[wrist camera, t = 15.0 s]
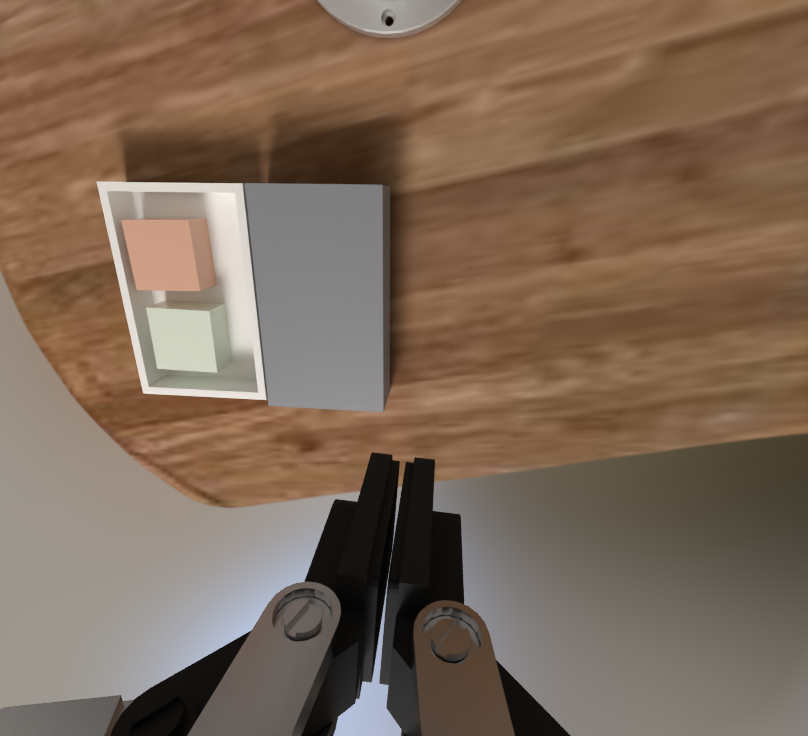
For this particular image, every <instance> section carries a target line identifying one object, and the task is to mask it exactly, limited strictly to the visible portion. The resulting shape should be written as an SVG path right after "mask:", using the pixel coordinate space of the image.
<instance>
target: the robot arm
mask: <svg viewBox="0 0 808 736" xmlns="http://www.w3.org/2000/svg"><path fill="white" fill-rule="evenodd" d="M317 1H318V2H319V3H320V5H321V6H322V7H323V8H324V9H325V10H326V11H327V12H328V13H329V14H330V15H331V16H333V17H334V18H335V19H336V20H337V21H339V22H340V23H341V24H343V25H345V26H347V27H349V28H351V29H352V30H354V31H356V32H358V33H362V34H365V35H369V36H372V37H377V38H399V37H404V36H409V35H414V34H416V33H418V32H421V31H423V30H425V29H428V28H430V27H432V26H433V25H435V24H436V23H438V22H439V21H440V20H442V19H443V18H445V17H446V16H448V15H449V14H450V13H451V12H452V11H453V10H454V9H455V8H456V7H457V6H458V5H459V3H460V2H461V1H462V0H317ZM388 19H393V21H394V22H393V24H392V26H387V25H386V21H387V20H388ZM399 464H400V461H393V460H392V455H389V454H381V453H372V454H371V457H370V460H369V464H368V467H367V471H366V474H365V478H364V481H363V485H362V488H361V491H360V495H359V498H358V502H354V501H346V500H337V499H336V500H335V501H334V503H333V505H332V508H331V510H330V513H329V516H328V519H327V521H326V524H325V527H324V530H323V532H322V535H321V538H320V541H319V543H318V547H317V549H316V552H315V555H314V557H313V560H312V563H311V566H310V568H309V571H308V574H307V576H306V579H305V582H302V583H296V584H293V585H291V586H288V587H286V588H284V589H283V590H281V591H280V592H279V593H277V594H276V595H275V596H274V597H273V598H272V600H271V601H270V602H269V603H268V605H267V607H266V608H265V610H264V611H263V613H262V615H261V616H260V618H259V620H258V622H257V623H256V625H255V626H254V628H253V629H252V631H250V632H248V633H246V634H245V635H243V636H241V637H240V638H238V639H236V640H234V641H232V642H231V643H229V644H227V645H225V646H224V647H222V648H220V649H218V650H217V651H215V652H213V653H212V654H209V655H208V656H206V657H204V658H202V659H201V660H199V661H197V662H196V663H194V664H192V665H190V666H188V667H187V668H185V669H183V670H181V671H180V672H178V673H176V674H174V675H173V676H171V677H169V678H167V679H166V680H164V681H162V682H160V683H159V684H157V685H155V686H153V687H151V688H150V689H148V690H147V691H146V692H144V693H143V694H141V695H140V696H138V697H137V698H136V699H135V700H130V701H122V697H121V695H118V696H108V697H99V698H90V699H79V700H70V701H60V702H52V703H42V704H33V705H22V706H13V707H6V708H2V709H0V736H333V735H334V732H335V729H336V724H337V720H338V716H339V715H341V714H342V713H343V712H345V711H346V710H347V709H348V708H350V707H351V706H352V705H353V704H355V700H356V698H357V699H358V698H359V697H360V691H361V685H362V681H366V682H372V677H373V671H374V664H375V658H376V651H377V645H378V638H379V632H380V625H381V618H382V612H383V606H384V599H385V593H386V586H387V580H388V588H387V598H386V611H385V622H384V635H383V648H382V660H381V671H380V684H387V685H389V689H388V699H387V709H388V710H389V712H390V713H391V715H392V716H393V718H394V719H395V721H396V722H397V723H398V725H399V726H400V728H401V729H402V732H401V736H570V735H569V734H568V733H567V732H566V731H565V730H564V729H563V728H562V727H561V726H560V725H559V724H558V722H557V721H556V720H555V719H554V718H553V717H552V716H551V715H550V714H549V713H548V712H547V711H546V710H545V709H544V708H543V707H542V706H541V705H540V704H539V703H538V702H537V701H536V700H535V699H534V698H533V697H532V696H531V695H530V694H529V693H528V692H527V691H526V690H525V689H524V688H523V687H522V686H521V685H520V684H519V683H518V682H517V681H516V680H515V679H514V678H513V677H512V676H511V675H510V674H509V673H508V672H507V671H506V670H505V668H503V666H501V664H500V663H499V662H498V661H497V660H496V658H495V654H494V650H493V646H492V642H491V638H490V634H489V631H488V629H487V627H486V624H485V622H484V621H483V620H482V618H481V617H480V616H479V615H478V613H476V612H475V611H474V610H472V609H471V608H470V607H468V606H466V605H464V588H463V563H462V538H461V517H460V515H459V514H452V513H444V512H435V511H433V492H434V491H433V490H434V470H435V460H433V459H424V458H415V459H414V463H410V462H406V465H405V472H404V478H403V485H402V491H401V498H400V504H399V512H398V518H397V524H396V531H395V538H394V544H393V535H394V523H395V511H396V499H397V488H398V476H399ZM392 545H393V550H392ZM391 553H392V558H391ZM390 560H391V564H390ZM389 567H390V570H389ZM388 573H389V578H388Z"/></svg>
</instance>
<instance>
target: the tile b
mask: <svg viewBox="0 0 808 736" xmlns="http://www.w3.org/2000/svg"><path fill="white" fill-rule="evenodd" d="M146 310H147V315H148V321H149V326H150V332H151V337H152V343H153V348H154V353H155V359H156V364H157V369H168V370H183V371H198V372H213V373H218V372H219V371H220V370H222V369H223V368H224V367H226V366H227V365H228V364H230V363H231V362H232V359H231V351H230V342H229V334H228V325H227V317H226V308H225V304H222V303H203V302H185V301H167V300H165V301H163V302H160V303H157V304H155V305H152V306H149V307H146Z"/></svg>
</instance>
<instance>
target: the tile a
mask: <svg viewBox="0 0 808 736" xmlns="http://www.w3.org/2000/svg"><path fill="white" fill-rule="evenodd" d="M121 222H122V226H123V231H124V235H125V240H126V244H127V249H128V253H129V258H130V262H131V267H132V271H133V276H134V280H135V285H136V290H158V291H202V290H205V289H208V288H210V287H213V286H215V285H217V283H216V277H215V270H214V264H213V258H212V251H211V245H210V238H209V232H208V225H207V219H206V218H142V219H127V220H121Z"/></svg>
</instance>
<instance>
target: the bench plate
mask: <svg viewBox="0 0 808 736" xmlns="http://www.w3.org/2000/svg"><path fill="white" fill-rule="evenodd" d="M245 191H246V200H247V209H248V218H249V227H250V237H251V246H252V255H253V264H254V274H255V283H256V292H257V301H258V310H259V320H260V329H261V338H262V347H263V357H264V366H265V375H266V384H267V393H268V403H269V406H282V407H300V408H318V409H337V410H355V411H373V412H384V409H385V405H386V402H387V399H388V395H389V392H390V186H387V185H366V184H281V183H245Z"/></svg>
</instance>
